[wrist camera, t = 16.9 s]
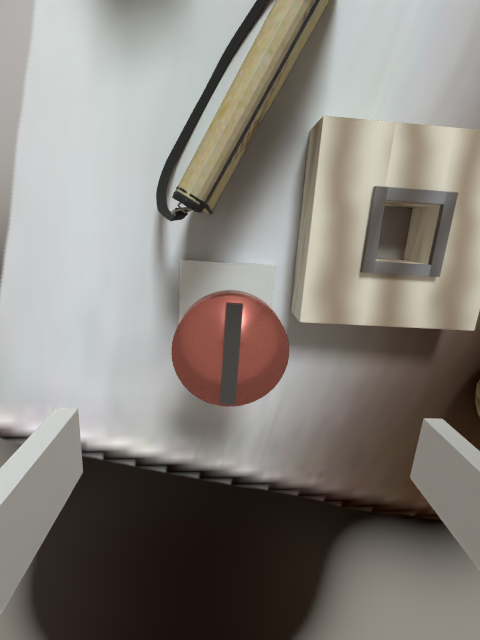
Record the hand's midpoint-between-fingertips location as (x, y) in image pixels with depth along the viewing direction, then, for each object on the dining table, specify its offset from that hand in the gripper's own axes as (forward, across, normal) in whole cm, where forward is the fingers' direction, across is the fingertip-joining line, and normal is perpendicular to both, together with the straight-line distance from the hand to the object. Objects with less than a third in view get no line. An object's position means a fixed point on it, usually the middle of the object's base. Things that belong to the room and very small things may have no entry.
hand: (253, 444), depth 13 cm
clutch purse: (+29, 0, +22) cm, 36 cm away
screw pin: (+28, -1, -1) cm, 28 cm away
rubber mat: (+28, -1, -2) cm, 29 cm away
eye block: (+29, +17, +8) cm, 34 cm away
